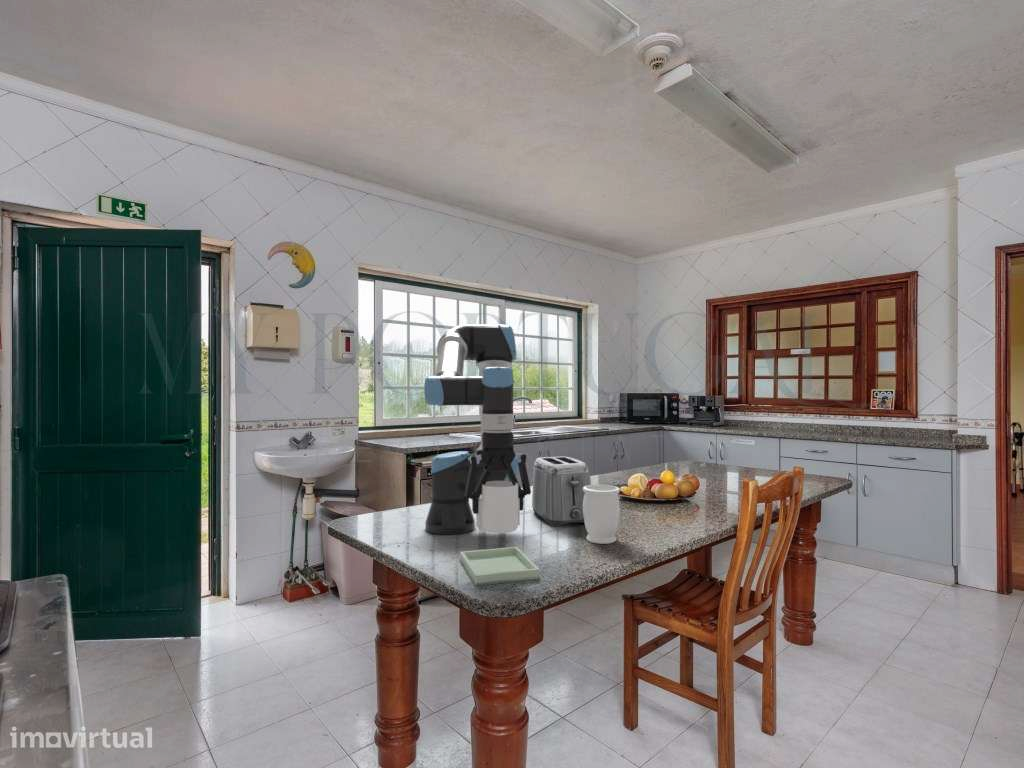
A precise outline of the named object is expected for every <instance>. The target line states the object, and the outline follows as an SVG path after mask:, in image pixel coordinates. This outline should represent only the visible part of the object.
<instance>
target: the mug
mask: <svg viewBox="0 0 1024 768" xmlns="http://www.w3.org/2000/svg"><path fill="white" fill-rule="evenodd" d="M518 483H519V482H518ZM518 483H515V486H514V485H513V484H512V482H511V481H489V482H486V484H485V485H483V484H482V494H481V500H482V528H481V529H482V530H483V531H484V532H487V533H491V534H508V533H513V532H515V531H516V530H517V529H518V528H519V525H518Z"/></svg>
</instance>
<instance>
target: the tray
mask: <svg viewBox="0 0 1024 768" xmlns="http://www.w3.org/2000/svg"><path fill="white" fill-rule="evenodd" d="M459 561H460V563H461V564H462V566H463V568H464V569H465V570H466V572H467V574H468V576H469V577H470V579H471V580H472V583H473V584H474V585H475V586H476V587H481V586H488V585H495V584H496V585H497V584H505V583H515V582H523V581H524V582H526V581H532V580H535V581H536V580H541V568H539V567H538V566H537V565H536V564H535V563H534V562H533V561H532V560H531V559H530V557H528V556H527V555H526V554H525V553H524V552H523V551H522V550H521V549H520V548H519V547H518V546H509V547H496V548H487V549H478V550H477V549H475V550H468V551H467V550H466V551H460V552H459Z"/></svg>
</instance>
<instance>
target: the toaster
mask: <svg viewBox="0 0 1024 768" xmlns="http://www.w3.org/2000/svg"><path fill="white" fill-rule="evenodd" d="M532 471H533V472H532V495H531V497H532V499H531V507H532V511H533V512H534V514H537V515H538V516H539V517H541V518H542V519H543V520H544V521H545V522H546V523H547V524H549V525H551V526H553V527H562V526H564V525H565V524H570V523H584V524H585V522H584V515H583V499H584V495H585V492H584V491H583V487H584V486H588V485H592V480H591V472H590V468H589V466H588V465H587V463H586V462H584V461H581V460H579V459H577V458H573V457H570V456H563V455H562V456H561V455H560V456H545V457H544V456H543V457H537V458H536V459H535V461H534V463H533V469H532Z"/></svg>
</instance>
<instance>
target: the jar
mask: <svg viewBox="0 0 1024 768" xmlns="http://www.w3.org/2000/svg"><path fill="white" fill-rule="evenodd" d="M583 491H584V492H585V495H584V499H583V515H584V522H585V523H584V526H585V529H586V532H587V536H586V540H587V541H588V542H590V543H593V544H600V545H608V544H613V543H615V542H616V540H617V538H616V536H615V534H616V532H617V531H618V528H619V527H618V526H619V519H620V513H621V512H620V510H621V506H620V498H619V495H618V494H619V493H620V492H621V491H620V487H618V486H614V485H608V484H591V485H588V486H584V487H583Z"/></svg>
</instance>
